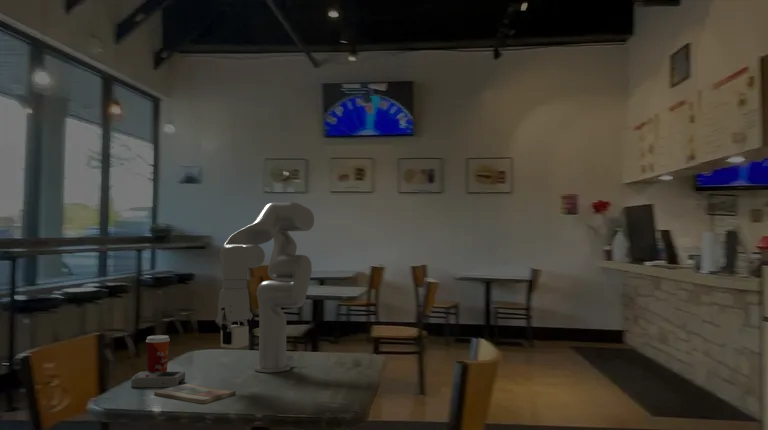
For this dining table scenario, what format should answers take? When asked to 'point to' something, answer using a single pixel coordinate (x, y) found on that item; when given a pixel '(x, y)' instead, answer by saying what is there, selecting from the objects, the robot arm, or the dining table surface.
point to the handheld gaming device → (157, 379)
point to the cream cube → (237, 336)
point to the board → (195, 393)
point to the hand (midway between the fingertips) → (234, 342)
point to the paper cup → (157, 353)
